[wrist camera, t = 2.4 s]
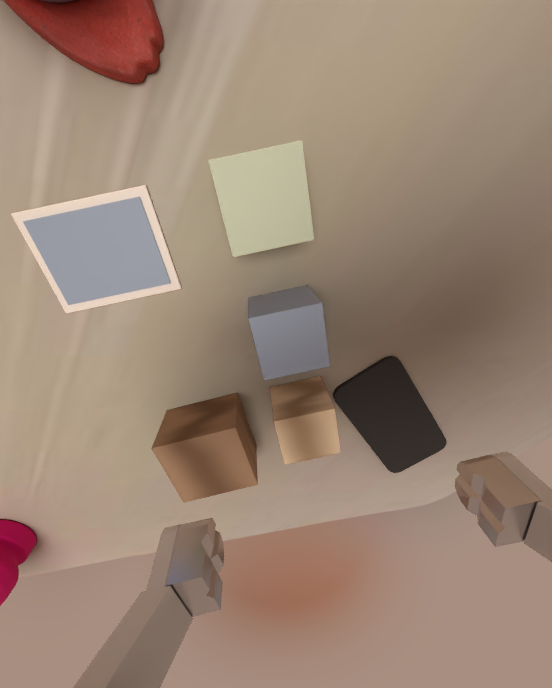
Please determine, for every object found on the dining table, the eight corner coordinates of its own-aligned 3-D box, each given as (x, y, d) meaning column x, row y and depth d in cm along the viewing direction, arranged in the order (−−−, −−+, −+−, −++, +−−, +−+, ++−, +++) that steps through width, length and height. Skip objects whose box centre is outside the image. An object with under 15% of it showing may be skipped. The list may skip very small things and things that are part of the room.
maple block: (320, 375, 27) (334, 408, 22) (326, 415, 29) (340, 452, 25) (269, 386, 27) (274, 421, 22) (279, 425, 29) (284, 464, 25)
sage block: (289, 156, 19) (301, 140, 15) (300, 233, 21) (314, 239, 17) (217, 172, 19) (208, 160, 15) (236, 247, 21) (233, 257, 17)
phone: (396, 352, 26) (450, 445, 32) (392, 349, 27) (445, 440, 33) (329, 394, 27) (392, 476, 33) (327, 389, 28) (389, 470, 34)
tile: (146, 185, 19) (144, 184, 19) (181, 288, 22) (180, 289, 22) (13, 213, 19) (8, 213, 19) (67, 312, 22) (64, 314, 22)
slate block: (307, 285, 23) (322, 302, 19) (315, 338, 25) (329, 366, 21) (248, 297, 23) (248, 318, 19) (260, 350, 25) (263, 380, 21)
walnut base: (237, 391, 27) (235, 427, 22) (256, 443, 30) (257, 484, 26) (167, 409, 27) (151, 448, 23) (193, 459, 30) (183, 502, 26)
